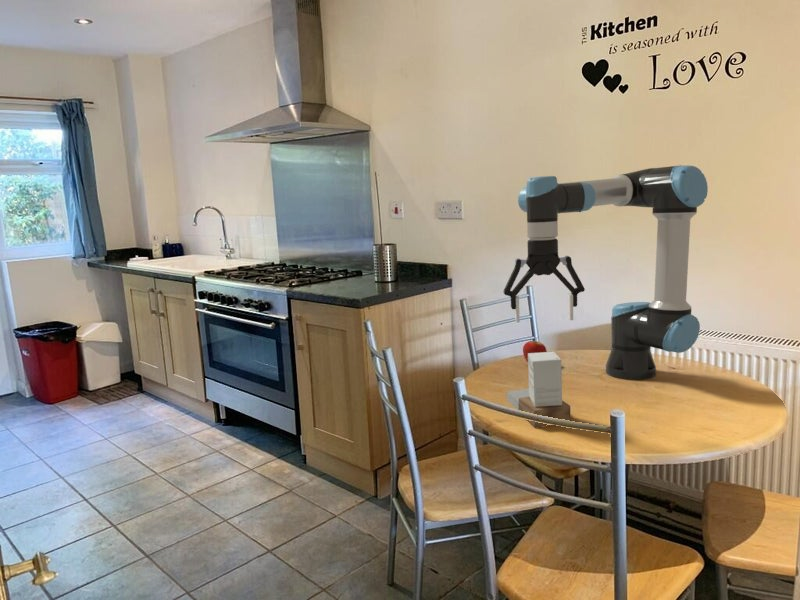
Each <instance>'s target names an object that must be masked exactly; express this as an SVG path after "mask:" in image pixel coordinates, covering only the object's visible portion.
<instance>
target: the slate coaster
mask: <svg viewBox="0 0 800 600" xmlns="http://www.w3.org/2000/svg"><path fill="white" fill-rule="evenodd" d="M524 397H529V388H524V389H516V390H508V391H506V401H507V402H509V403H510V404H511V405H512V406H513V407H514V408H515V409H517V410H518V411H519V398H524Z"/></svg>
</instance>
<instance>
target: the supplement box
mask: <svg viewBox="0 0 800 600" xmlns="http://www.w3.org/2000/svg"><path fill="white" fill-rule="evenodd" d="M527 365H528V369H527V370H528V389H529V397H530V399H531V401H532V403H533V405H534V406H535V407H542V406H558V405H562V401H563V388H562V387H563V386H562V385H563V382H562V381H563V380H562V379H563V378H562V375H563V374H562V359H561V358H560V357H559V355H558V354H557V353H556V352H555V351H547V352H542V353H528V362H527Z"/></svg>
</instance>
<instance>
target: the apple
mask: <svg viewBox="0 0 800 600" xmlns="http://www.w3.org/2000/svg"><path fill="white" fill-rule="evenodd" d="M535 338H536V340H529V341H527V342H525V343H524V345H523V346H522V354H523V358H524V359H525V361H526V362H527V363H528V353H542V352H548V351H547V348H546V346H545V344H544V343H542V342H540V341H538V340H537V339H538V337H535Z"/></svg>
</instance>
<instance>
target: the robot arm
mask: <svg viewBox="0 0 800 600" xmlns="http://www.w3.org/2000/svg"><path fill="white" fill-rule="evenodd" d="M708 188H709V187H708V182H707V177H706V176H705V174H704V173H703V172H702V170H701V169H700V168H698V167H697V166H694V165H684V164H683V165H682V164H680V165H679V164H678V165H672V166H663V167H661V166H660V167H651V168H646V169H645V168H644V169H641V170H637V171H632V172H631V171H630V172H627V173H623V174H616V175H614V176H613V177H611V178H603V179H602V178H601V179H594V180H592V179H591V180H583V181H582V180H581V181H572V182H571V181H569V182H561V183H559V182H558V177H556V176H554V175H549V176H548V175H546V176H545V175H543V176H535V177H533V176H532V177H529V178H528V179H527V181H526V185H525V187H523V188H522V189H521V190H520V191H519V193H518V196H517V202H518V207H519V208H520V210H521V211H522V212H524V213H526V225H527V227H526V228H527V231H526V233H527V238H528V240H527V243H526V244H527V258H526V259H524V258H523V259H521V258H519V257H518V258H515V261H514V267H513V269H512V272H511V273H510V275H509V278H508V281H507V282H506V285H505V287H504V289H503V294H504V295H505V296H508V297H510V308H511V309H512V310H514V311H515V312H514V313H515V314H514V315H515V316H514V317H515V322H516V323H520V322H521V321H520V297H519V293H520V292H521V291H522V289H523V288H524V287H525V285H526V284H527V283H528V282H529V281H530V279H531V278H532V277H533V276H534V275H535V276H543V275H544V276H551V274H553V275H555V276H556V277H557V279H559V280H560V282H561V283H562V284H563V285H564V286H565V287H566V288H567V289H568V291H570V293H567V317H568V320H570V321H574V308H577V306H578V294H580V293H582V292H583V293H584V292H585V290H586V289H585V287H584V284H583V283H582V281H581V279H580V277H579V276H578V273H577V271H576V270H575V268H574V266H573V264H572V263H573V262H572V257H570V256H569V255H565V256H562V257H559V240H558V238H557V237H558V236H559V233H558V232H559V227H558V226H559V225H558V219H559V218H558V217H559V214H568V213H581V212H585V211H586V212H587V211H589V210H591V209H592V208H593V207H598V206H607V205H614V206H615V207H618V208H619V207H638V208H639V207H640V208H652V211H651V212H652V216H653V217H655V218H656V220H657V226H656V227H657V229H656V230H657V231H656V232H657V233H656V251H655V252H656V253H655V255H656V257H655V274H654V275H655V278H654V281H655V282H654V299H653V300H652V301H651V302H650V301H632V302H622V303H618V304H616V305H614V306H612V310H611V317H610V318H611V323H610V324H611V349H610V351H609V355H608V358H607V361H606V364H605V372H606V374H607V375H608V376H611V377H613V378H618V379H625V380H646V379H651V378H653V377H656V375H657V368H656V364H655V361H654V358H653V357H654V356H653V355H652V351H651V348H654V349H659V350H663V351H665V352H667V353H668V352H670V353H677V354H679V353H684V352H687V351H688V350H689V349H691V348H692V347H693V346H694V344H695V343H696V342H697V340H698V338H699V335H700V327H701V326H700V325H701V324H700V322H699V319H698V318H697V316H695V315H693V314H692V305H690V304H689V303H688V302H687V291H688V290H687V289H688V275H689V274H688V270H689V253H690V233H691V230H690V229H691V219H692V218H693V217H694V216H696V214H697V213H698V212H697V211H698V207H700V206H702V205H703V203H705V199H707V196H708V193H709V192H708V190H709V189H708ZM560 263H562V265H564V266H565V267H566V269H567V271H568V273H569V275H570V277H571V278H572V280H573V282H574V284H575V286H576V287H574V286H573V284H571V283H570V281H568V279H567V278H566V277H565V276H564V275H563V274H562V272H560V271H559V270H558V269H557V267H558V266H559V265H560ZM524 265H526V266H527V267H528V268H529V269H528V270H527V271H526V273H525V274H524V275H523V277H521V279H520V280H519V281H518V283H517V284H516V285H515V286H514V284H515V282H516V279H517V277H518V275H519V273H520V271H521V268H523V267H524ZM513 286H514V288H513ZM512 288H513V289H512Z"/></svg>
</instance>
